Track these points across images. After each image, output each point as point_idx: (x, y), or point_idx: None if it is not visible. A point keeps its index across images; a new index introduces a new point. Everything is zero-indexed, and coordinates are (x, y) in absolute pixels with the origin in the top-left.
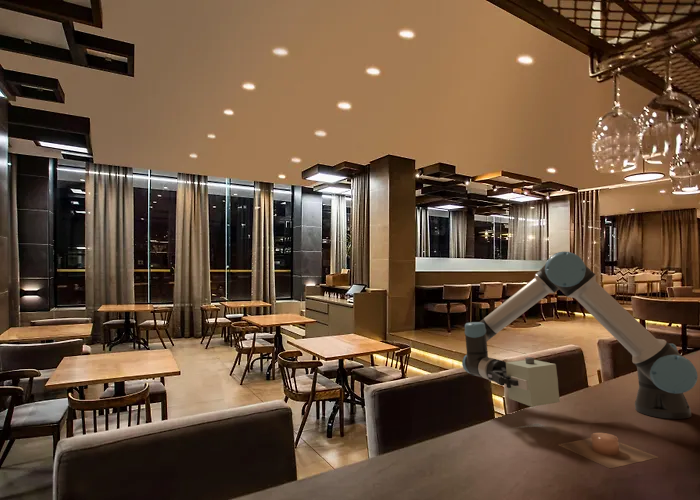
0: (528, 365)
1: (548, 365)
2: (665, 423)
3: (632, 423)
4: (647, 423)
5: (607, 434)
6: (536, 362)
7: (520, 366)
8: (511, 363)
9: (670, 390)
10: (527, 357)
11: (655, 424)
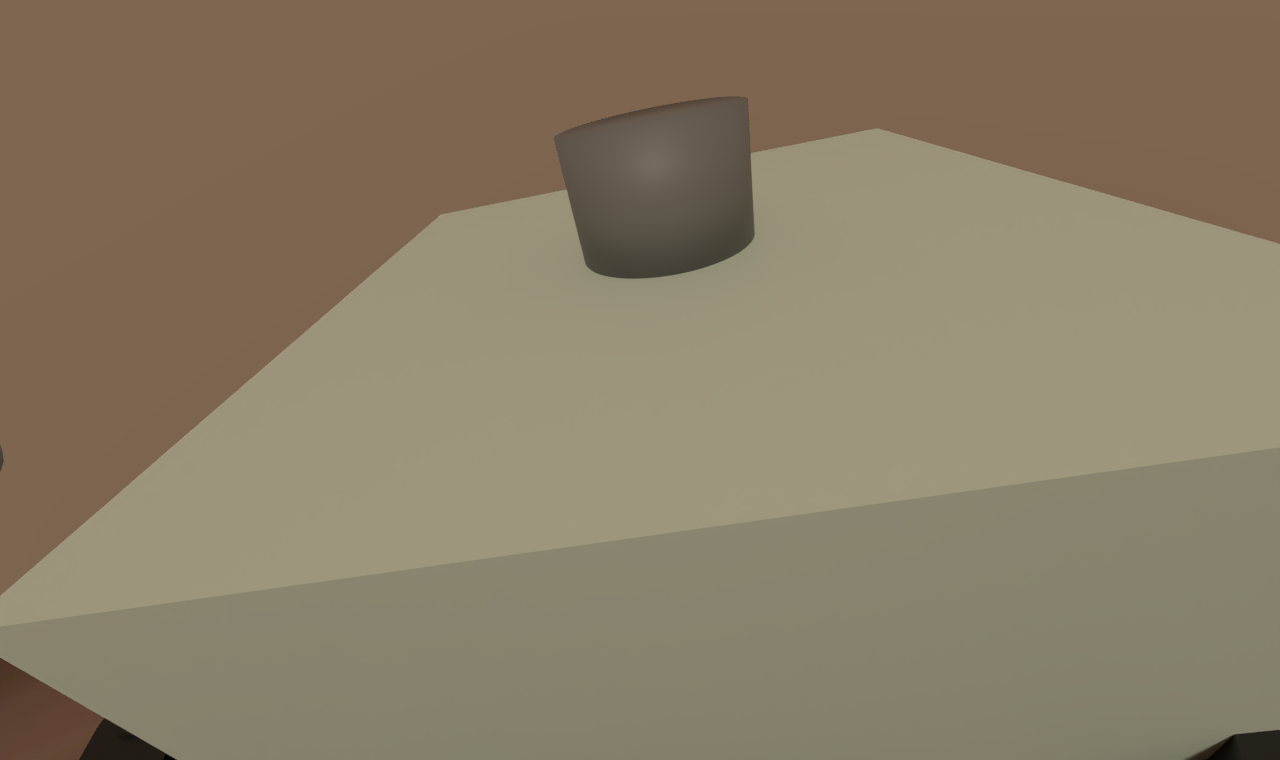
0: (801, 176)
1: (554, 196)
2: (3, 691)
3: (69, 757)
4: (37, 724)
5: None
6: (504, 273)
7: (962, 162)
8: (1216, 255)
9: (2, 457)
10: (639, 131)
11: (46, 695)
